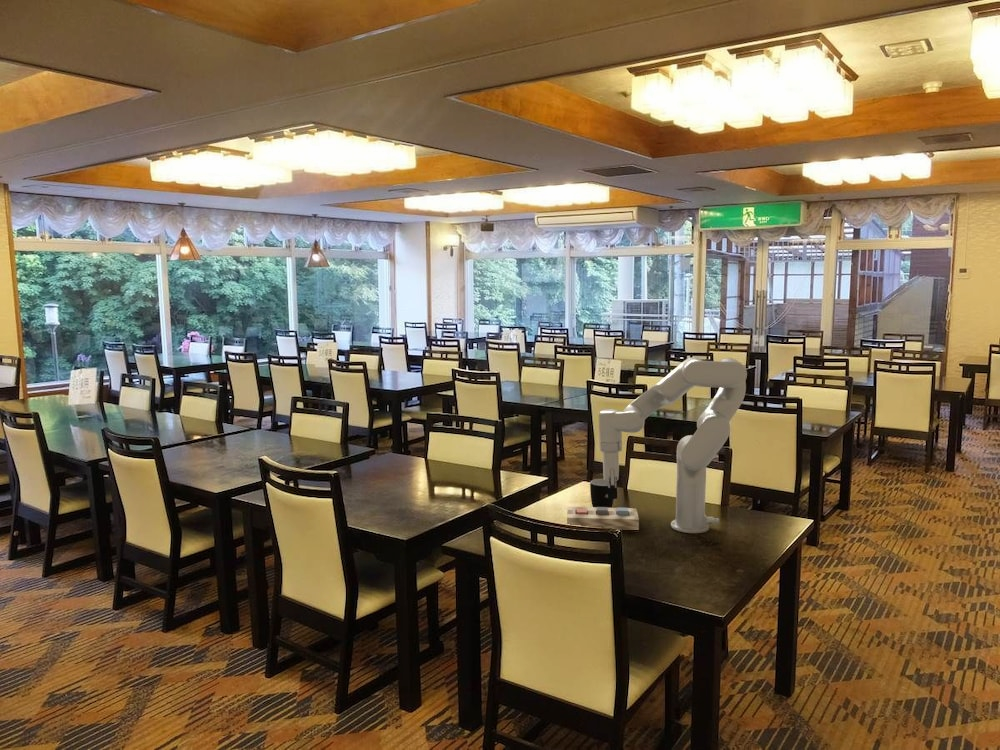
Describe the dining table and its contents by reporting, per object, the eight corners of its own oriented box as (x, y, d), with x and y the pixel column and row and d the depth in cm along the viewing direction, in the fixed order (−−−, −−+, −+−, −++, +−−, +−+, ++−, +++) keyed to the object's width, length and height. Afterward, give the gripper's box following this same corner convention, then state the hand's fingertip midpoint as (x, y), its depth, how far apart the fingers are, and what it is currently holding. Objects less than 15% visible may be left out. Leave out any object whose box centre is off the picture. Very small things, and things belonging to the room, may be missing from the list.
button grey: (607, 514, 251) (607, 507, 251) (607, 518, 247) (607, 510, 247) (596, 514, 251) (596, 506, 251) (597, 518, 248) (597, 510, 247)
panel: (635, 519, 254) (636, 508, 254) (638, 531, 242) (638, 519, 242) (567, 517, 257) (567, 506, 256) (566, 528, 245) (567, 517, 245)
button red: (586, 516, 252) (587, 509, 251) (587, 520, 248) (587, 512, 248) (576, 516, 252) (576, 508, 252) (576, 519, 249) (576, 511, 248)
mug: (605, 514, 260) (605, 487, 259) (585, 509, 266) (585, 482, 265) (624, 506, 268) (624, 480, 267) (604, 501, 275) (604, 475, 273)
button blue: (627, 515, 250) (627, 507, 250) (628, 518, 247) (628, 510, 246) (617, 515, 251) (617, 507, 250) (617, 518, 247) (617, 510, 247)
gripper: (599, 441, 254) (600, 492, 256) (600, 451, 239) (602, 505, 241) (620, 440, 253) (622, 491, 255) (623, 450, 238) (625, 504, 240)
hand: (612, 498), depth 248 cm, fingers closed
